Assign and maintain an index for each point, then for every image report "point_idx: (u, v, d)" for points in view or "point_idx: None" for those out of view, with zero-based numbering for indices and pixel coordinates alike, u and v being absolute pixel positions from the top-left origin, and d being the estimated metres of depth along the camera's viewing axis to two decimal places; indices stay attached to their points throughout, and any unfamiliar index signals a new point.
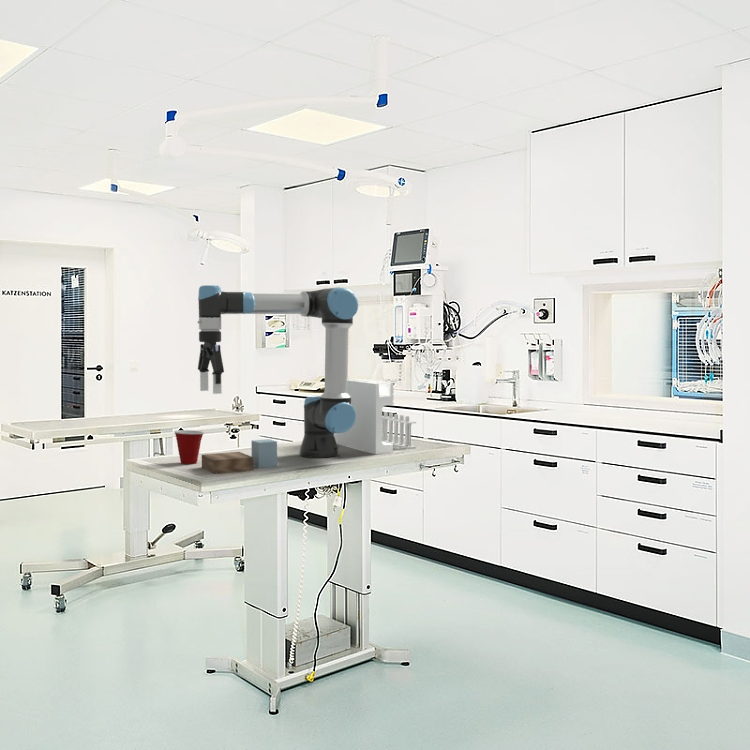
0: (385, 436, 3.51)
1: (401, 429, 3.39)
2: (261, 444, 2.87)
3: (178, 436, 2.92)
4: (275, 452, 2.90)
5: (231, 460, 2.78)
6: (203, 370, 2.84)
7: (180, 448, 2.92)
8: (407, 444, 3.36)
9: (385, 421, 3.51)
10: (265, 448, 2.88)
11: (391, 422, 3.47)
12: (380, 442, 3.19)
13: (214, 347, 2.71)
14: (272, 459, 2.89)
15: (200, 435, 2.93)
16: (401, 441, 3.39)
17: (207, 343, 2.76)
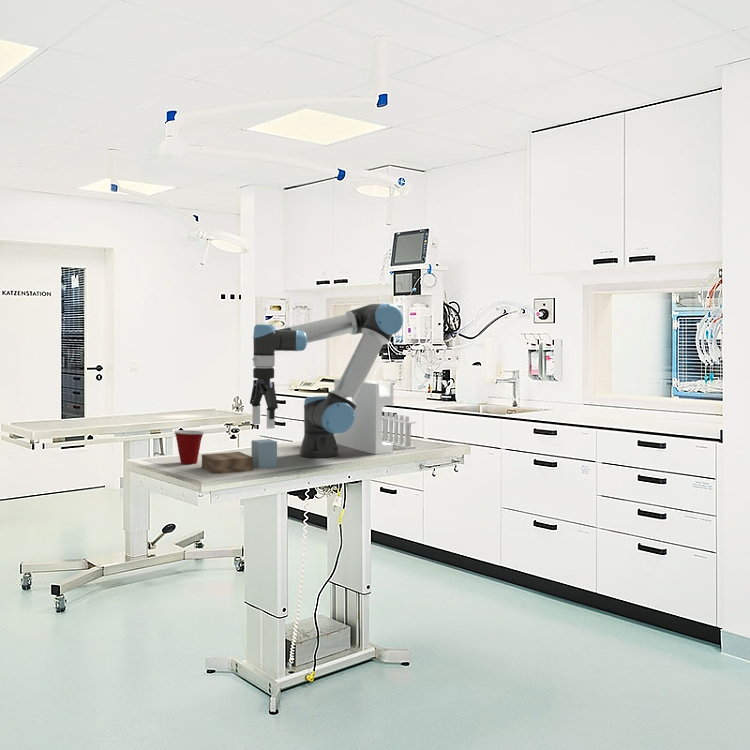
0: (385, 436, 3.51)
1: (401, 429, 3.39)
2: (261, 444, 2.87)
3: (178, 436, 2.92)
4: (275, 452, 2.90)
5: (231, 460, 2.78)
6: (255, 404, 2.96)
7: (180, 448, 2.92)
8: (407, 444, 3.36)
9: (385, 421, 3.51)
10: (265, 448, 2.88)
11: (391, 422, 3.47)
12: (380, 442, 3.19)
13: (268, 384, 2.83)
14: (272, 459, 2.89)
15: (200, 435, 2.93)
16: (401, 441, 3.39)
17: (261, 379, 2.89)
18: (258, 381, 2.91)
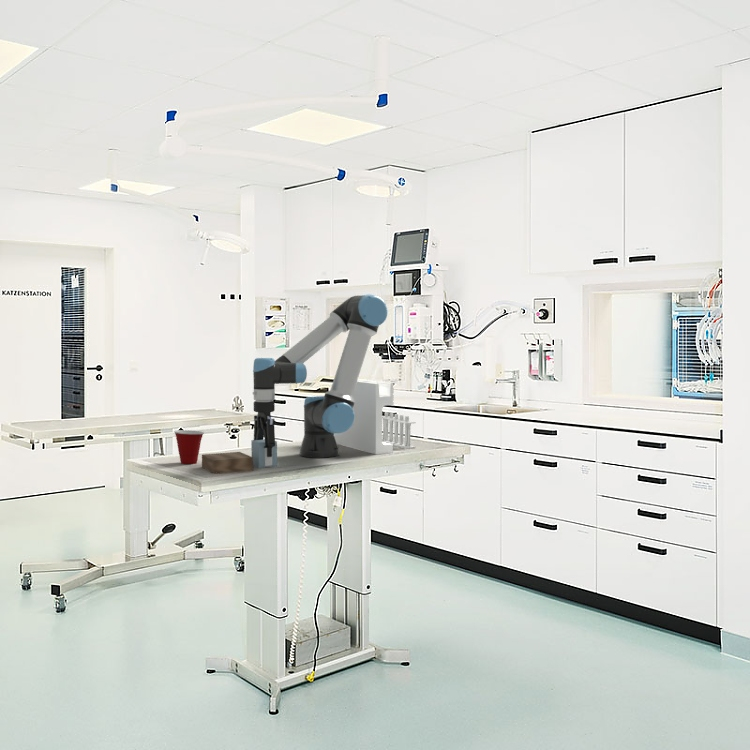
0: (386, 436, 3.51)
1: (401, 429, 3.39)
2: (261, 444, 2.87)
3: (178, 436, 2.92)
4: (275, 452, 2.89)
5: (231, 460, 2.78)
6: None
7: (180, 448, 2.92)
8: (407, 444, 3.36)
9: (386, 421, 3.51)
10: None
11: (391, 422, 3.47)
12: (380, 442, 3.19)
13: (269, 421, 2.84)
14: (272, 458, 2.89)
15: (200, 435, 2.93)
16: (401, 441, 3.39)
17: (261, 413, 2.89)
18: (258, 414, 2.92)
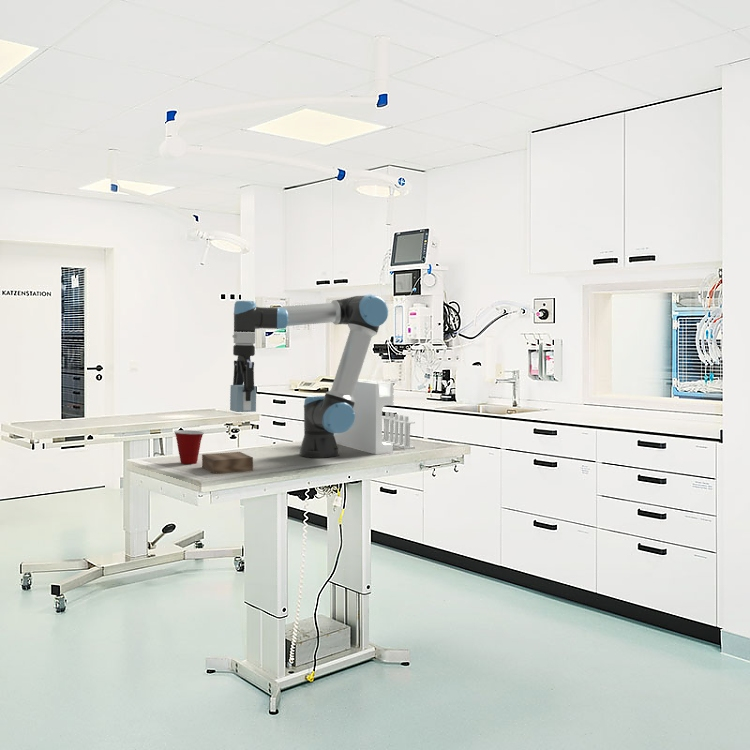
0: (386, 436, 3.51)
1: (401, 429, 3.39)
2: (240, 388, 2.81)
3: (178, 436, 2.92)
4: (254, 397, 2.84)
5: (230, 460, 2.77)
6: None
7: (180, 448, 2.92)
8: (406, 444, 3.35)
9: (386, 421, 3.51)
10: None
11: (392, 422, 3.47)
12: (380, 442, 3.19)
13: (248, 364, 2.79)
14: (251, 403, 2.84)
15: (200, 435, 2.93)
16: (401, 441, 3.39)
17: (241, 357, 2.84)
18: (238, 359, 2.87)
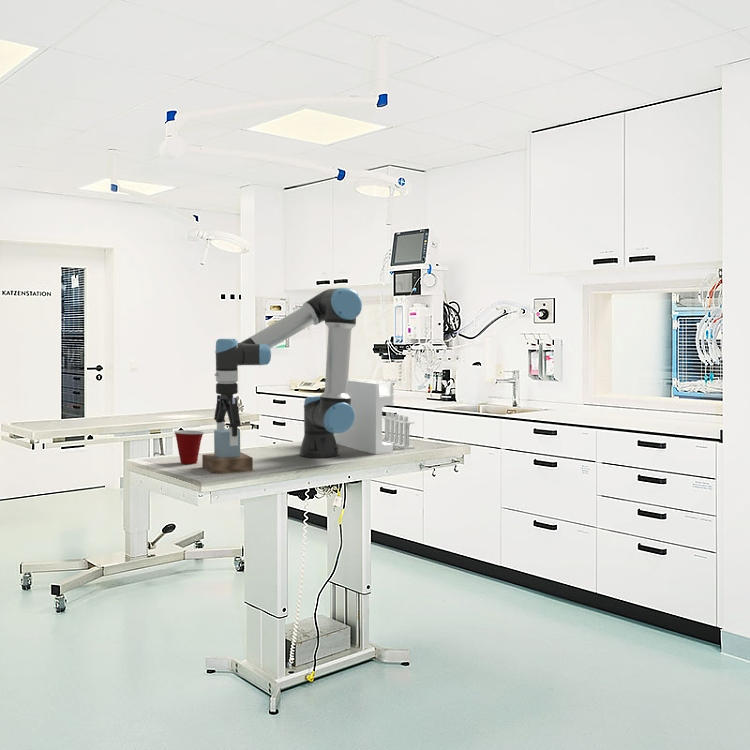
0: (387, 436, 3.51)
1: (400, 429, 3.39)
2: (223, 434, 2.79)
3: (178, 436, 2.92)
4: (238, 442, 2.82)
5: (230, 460, 2.77)
6: (219, 420, 2.89)
7: (180, 448, 2.92)
8: (406, 444, 3.35)
9: (387, 421, 3.51)
10: (228, 437, 2.80)
11: (392, 422, 3.47)
12: (380, 442, 3.19)
13: (231, 400, 2.77)
14: (235, 449, 2.82)
15: (200, 435, 2.93)
16: (400, 441, 3.39)
17: (224, 395, 2.82)
18: (221, 397, 2.84)
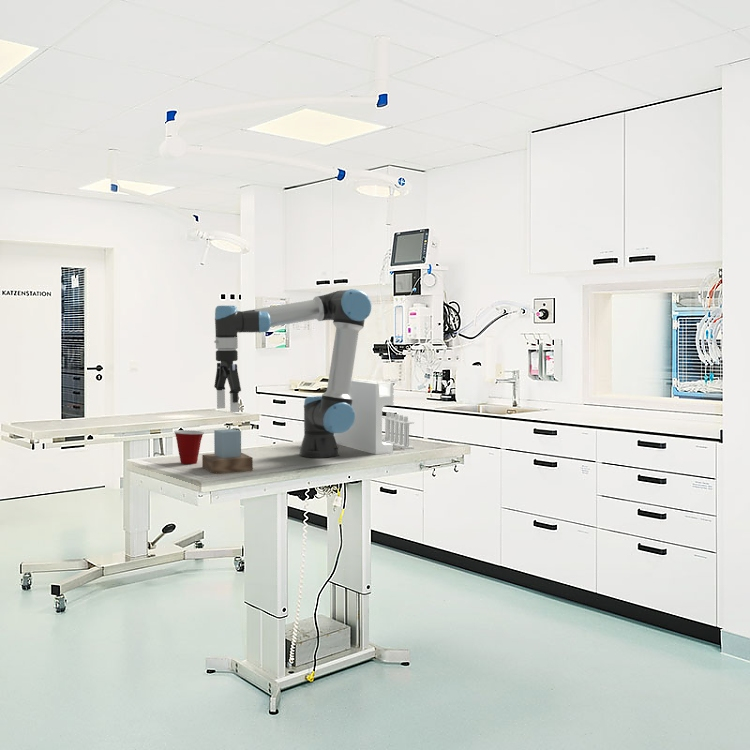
0: (387, 436, 3.51)
1: (400, 429, 3.39)
2: (225, 434, 2.79)
3: (178, 436, 2.92)
4: (239, 442, 2.83)
5: (230, 460, 2.77)
6: (220, 388, 2.89)
7: (180, 448, 2.92)
8: (405, 444, 3.35)
9: (387, 421, 3.51)
10: (229, 437, 2.80)
11: (392, 422, 3.47)
12: (380, 442, 3.19)
13: (231, 366, 2.76)
14: (236, 449, 2.82)
15: (200, 435, 2.93)
16: (400, 441, 3.39)
17: (224, 362, 2.81)
18: (221, 364, 2.84)
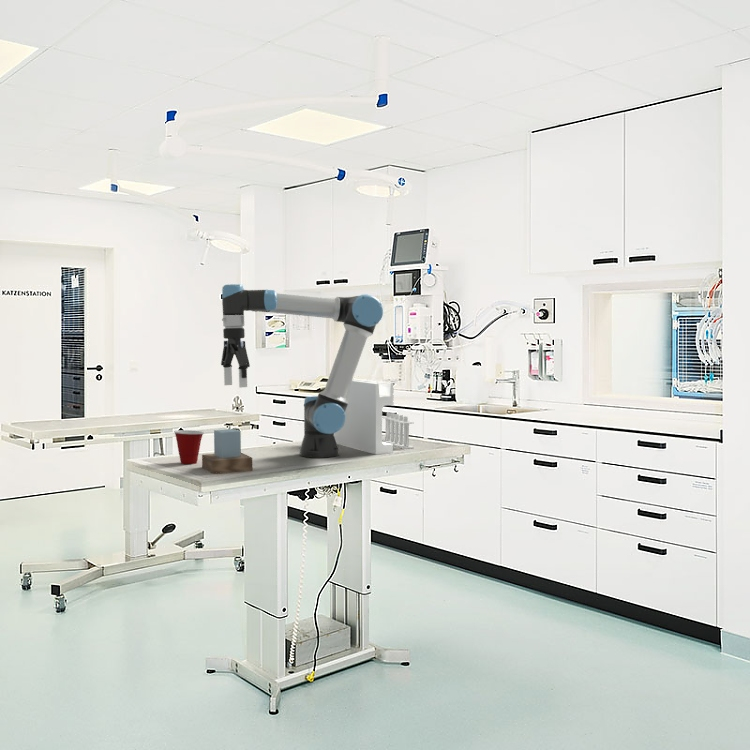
0: (388, 436, 3.51)
1: (400, 429, 3.39)
2: (224, 434, 2.79)
3: (178, 436, 2.92)
4: (239, 442, 2.82)
5: (230, 460, 2.77)
6: (227, 365, 2.98)
7: (180, 448, 2.92)
8: (405, 444, 3.35)
9: (388, 421, 3.51)
10: (229, 437, 2.80)
11: (393, 422, 3.47)
12: (380, 442, 3.19)
13: (239, 343, 2.85)
14: (236, 449, 2.82)
15: (200, 435, 2.93)
16: (400, 441, 3.39)
17: (231, 339, 2.90)
18: (229, 341, 2.92)
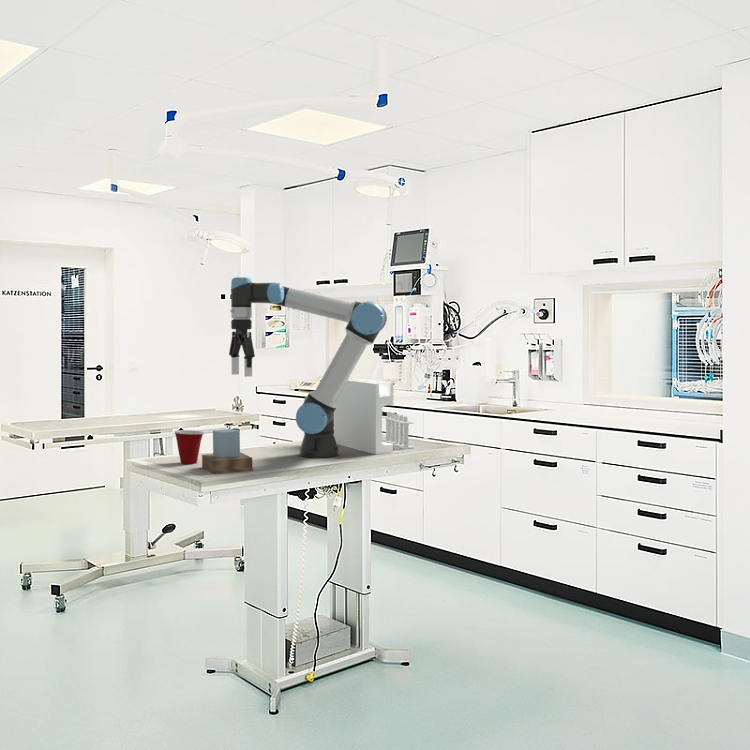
0: (388, 436, 3.51)
1: (400, 429, 3.39)
2: (223, 434, 2.79)
3: (178, 436, 2.92)
4: (238, 442, 2.82)
5: (230, 461, 2.77)
6: (234, 355, 3.09)
7: (180, 448, 2.92)
8: (405, 444, 3.35)
9: (388, 421, 3.51)
10: (228, 437, 2.80)
11: (393, 422, 3.47)
12: (380, 442, 3.19)
13: (246, 334, 2.96)
14: (235, 448, 2.82)
15: (200, 435, 2.93)
16: (400, 441, 3.39)
17: (239, 330, 3.01)
18: (236, 332, 3.03)
